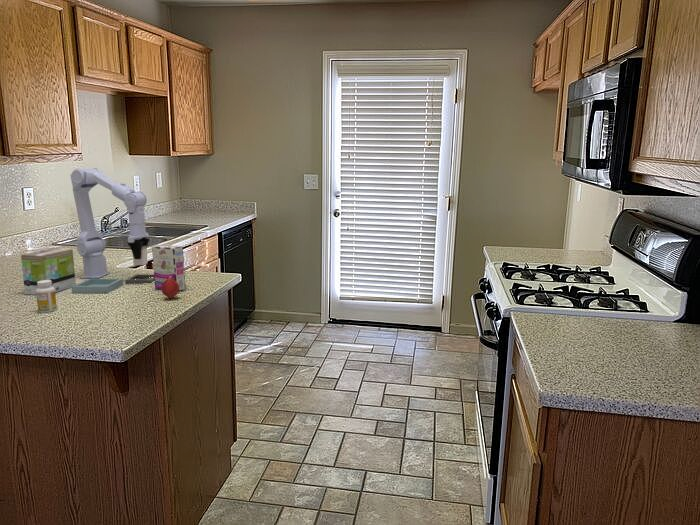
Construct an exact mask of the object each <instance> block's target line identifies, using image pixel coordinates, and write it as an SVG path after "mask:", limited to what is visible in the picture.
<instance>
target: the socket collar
mask: <svg viewBox="0 0 700 525" xmlns="http://www.w3.org/2000/svg"><path fill="white" fill-rule="evenodd" d="M149 277H150V278H151V277H153V278H151V279H137V278H149ZM135 279H136V280H135ZM153 281H155V279H154V274H134V275H132V276H131V277H129V278H126V279H125V284H126V285H144V284H143V283H152V282H153ZM129 283H130V284H129ZM131 283H132V284H131ZM134 283H135V284H134ZM141 283H142V284H141ZM153 283H154V282H153ZM153 283H152V284H153Z"/></svg>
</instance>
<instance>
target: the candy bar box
mask: <svg viewBox="0 0 700 525" xmlns="http://www.w3.org/2000/svg"><path fill="white" fill-rule="evenodd" d="M151 250H152V251H151V252H152V262H153V263H152V264H153V275H154V279H155V282H154V289H155V290H156V289H158V291H162V285H163V283H164V282H165V281H166V280H167V279H168V278H169V277H170V276H172V279H173V280H175V281H176V282H177V283H178V285H179V292H182V291H186V274H185V273H186V272H185V257H184V247H183V246H182V245H181V246H180V245H179V246H178V245H169V244H168V245H167V244H159V245H153V246H151Z"/></svg>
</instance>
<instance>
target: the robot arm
mask: <svg viewBox="0 0 700 525" xmlns="http://www.w3.org/2000/svg"><path fill="white" fill-rule="evenodd" d="M70 180H71V185H72V193H73V198H74V202H75V208H76V212H77V213H76V214H77V217H78V222H79V227H80V232H81V233H80V234H79V235H78V236H77V237H76V250H77V253H78V254H79V255H80V257H82V266H83V275H81V276H80V277H79V278H80V279H101V278H103V277H105V276H107V275H110V272H109V271H108V267H107V264H108V263H107V258H106V256H105V255H104V251H105V250H106V242H105V241H104V239H103V235H102V234H101V233H100V232H98V231H97V228H96V224H95V220H94V215H93V209H92V205H91V204H92V203H91V199H90V194H89V193H90V191H91V190H92V189H93V188H94V187H96V186H97V185H100V186H101V187H104V188H106V189H107V190H109V191H111V195H112V196H114V197H115V198H117V199H119V200H120V201H121V202H123V204H124V206H125V208H126V211H127V212H128V221H129V222H128V223H129V236H128V237H127V241H126V242H127V245H128V246H129V249H130V250H131V253H132V257H133V256H134V258H135V259H141V249H142V246H146V249H148V245H149V242H150V238H149V237H150V234H149V232H148V231H146V229H147V228H146V220H145V217H146V216H145V208H144V207H145V206H146V204H147V196H146V194H145V193H144V192H142V191H136V190H135V189H133V188H131V187H129V186H127V185H126V183H125V182H118V183H117V182H116V181H114V180H112V178H110V177H108V176H107V175H105V174H104V172H103V171H102V170H100V169H98V167H93V168H92V167H91V168H75V169H73V171H72V172H71V174H70Z"/></svg>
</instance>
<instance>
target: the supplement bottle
mask: <svg viewBox="0 0 700 525" xmlns="http://www.w3.org/2000/svg"><path fill="white" fill-rule="evenodd" d="M51 285H52V282H51V280H42V281H38V282H37V286H38V287H39V288H37V289H36V295H35V296H36V303H37V312H39V313H42V314H43V313H44V314H45V313H52V312H55V311H56V310H57V309H58V306H57V296H56V292H55V289H54V287H51Z"/></svg>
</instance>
